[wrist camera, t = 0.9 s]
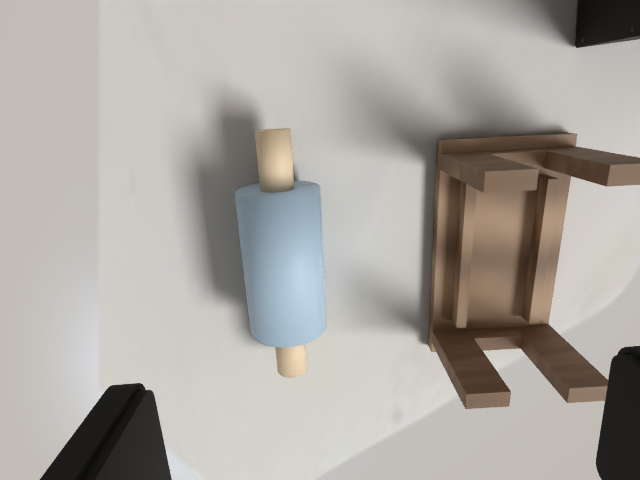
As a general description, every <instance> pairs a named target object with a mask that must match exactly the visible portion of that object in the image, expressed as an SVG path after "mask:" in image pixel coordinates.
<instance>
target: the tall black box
mask: <svg viewBox="0 0 640 480" xmlns="http://www.w3.org/2000/svg"><path fill="white" fill-rule="evenodd" d="M636 39H640V0H578V12H577V27H576V48H579V47H586V46H594V45H601V44H608V43H615V42H622V41H629V40H636Z"/></svg>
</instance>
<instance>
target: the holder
mask: <svg viewBox="0 0 640 480" xmlns="http://www.w3.org/2000/svg"><path fill="white" fill-rule="evenodd" d="M576 139H577V134H573V133H558V134H539V135H520V136H501V137H481V138H462V139H443V140H437V160H436V183H435V205H434V228H433V250H432V273H431V296H430V318H429V341H428V346H429V348H430V350H431V352H437V354H438V356H439V358H440V360H441V362H442V364H443V366H444V368H445V370H446V372H447V374H448V376H449V378H450V380H451V382H452V384H453V385H454V387H455V389H456V391H457V393H458V395H459V397H460V399H461V401H462V403H463V405H464V407H465V409H471V408H487V407H488V408H489V407H506V406H509V403H510V395H511V392H510V390H509V388H508V387H507V385H506V384H505V383H504V381H503V380H502V379H501V377H500V376H499V374H498V372H497V371H496V370H495V368H494V367H493V365H492V364H491V362H490V361H489V359H488V358H487V357H486V355H485V354H484V352H483V351H482V350H499V349H517V348H521V349H522V350H523V352H524V353H525V354H526V355H527V356H528V358H529V359H530V360H531V361H532V362H533V363H534V364H535V366H536V367H537V368H538V369H539V370H540V371H541V373H542V374H543V375H544V376H545V377H546V379H547V380H548V381H549V382H550V383H551V384H552V386H553V387H554V388H555V389H556V390H557V391H558V393H559V394H560V395H561V396H562V397H563V399H564V400H565V401H566V402H567V403H574V402H591V401H605V399H606V393H607V386H608V380H607V379H606V378H605V377H604V376H603V375H602V374H601V373H600V372H599V371H598V370H597V369H595V368H594V367H593V366H592V365H591V364H590V363H589V362H588V361H587V360H586V359H585V358H584V357H583V356H582V355H581V354H579V353H578V352H577V351H576V350H575V349H574V348H573V347H572V346H571V345H570V344H569V343H568V342H566V341H565V339H563V338H562V337H561V336H560V335H559V334H558V333H557V332H556V331H555V330H554V329H553V328H552V327H551V326H550V325H549V324H548V323H549V316H550V310H551V303H552V297H553V290H554V284H555V277H556V270H557V264H558V257H559V251H560V244H561V238H562V231H563V224H564V218H565V211H566V205H567V198H568V192H569V185H570V178H571V176H573V177H576V178H580V179H583V180H586V181H590V182H593V183H597V184H600V185H604V186H624V185H640V158H637V157H632V156H626V155H620V154H615V153H609V152H603V151H598V150H592V149H587V148H581V147H575V146H576Z"/></svg>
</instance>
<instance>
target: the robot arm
mask: <svg viewBox="0 0 640 480" xmlns="http://www.w3.org/2000/svg"><path fill="white" fill-rule="evenodd" d="M596 466H597V470H598V473H599V475H600V477H601V479H602V480H640V346H634V347H624V348H622V349H621V350H620V351H619V352H618V355H617V356H614V357H613V359H612V362H611V367H610V373H609V380H608V386H607V393H606V399H605V406H604V413H603V419H602V425H601V431H600V438H599V444H598V451H597V458H596ZM40 480H171V475H170V470H169V466H168V460H167V455H166V450H165V445H164V441H163V436H162V431H161V426H160V421H159V416H158V411H157V406H156V402H155V397H154V394H153V392H152V391H151V390H145V387H144V386H143V384H140V383H137V384H123V385H112V386H110V387H109V388H108V389H107V390H106V391H105V392H104V394H103V395H102V396H101V398H100V399H99V401H98V402H97V403H96V405H95V406H94V407H93V409H92V410H91V411H90V413H89V414H88V415H87V417H86V418H85V419H84V421H83V422H82V424H81V425H80V426H79V428H78V429H77V430H76V432H75V433H74V434H73V436H72V437H71V438H70V440H69V441H68V442H67V444H66V445H65V446H64V448H63V449H62V450H61V452H60V453H59V455H58V456H57V457H56V459H55V460H54V461H53V463H52V464H51V465H50V467H49V468H48V469H47V471H46V472H45V473H44V475H43V476H42V478H41V479H40Z"/></svg>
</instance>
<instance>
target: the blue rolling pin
mask: <svg viewBox="0 0 640 480" xmlns="http://www.w3.org/2000/svg"><path fill="white" fill-rule="evenodd" d="M255 141H256V151H257V162H258V172H259V182H260V183H256V184H251V185H247V186H244V187H241V188H238V189H237V190H235V192H234V195H235V204H236V212H237V221H238V229H239V238H240V246H241V254H242V263H243V271H244V280H245V288H246V297H247V305H248V314H249V322H250V331H251V335H252V337H253V338H254V339H255V340H256V341H258V342H259V343H261V344H264V345H267V346H271V347H276V358H277V368H278V373H279V374H280V375H282V376H284V377H288V378H293V377H298V376H300V375H302V374H303V373H304V372H305V371H306V369H307V363H306V348H305V344H307V343H309V342H311V341H313V340H315V339H317V338H318V337H320V336H321V335H322V334H323V332H324V331H325V329H326V325H327V321H326V301H325V280H324V260H323V239H322V218H321V198H320V186H319V185H318V184H316V183H313V182H307V181H294V175H293V160H292V146H291V131H290V129H266V130H257V131H255Z"/></svg>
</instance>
